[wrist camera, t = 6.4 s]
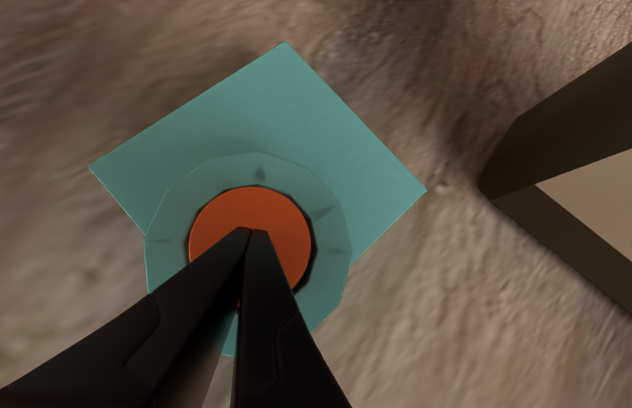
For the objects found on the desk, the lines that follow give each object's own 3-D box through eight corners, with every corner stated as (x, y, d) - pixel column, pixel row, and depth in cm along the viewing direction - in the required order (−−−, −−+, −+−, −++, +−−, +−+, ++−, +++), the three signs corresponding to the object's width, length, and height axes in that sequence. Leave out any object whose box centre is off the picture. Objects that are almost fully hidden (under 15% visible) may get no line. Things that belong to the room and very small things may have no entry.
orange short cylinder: (248, 323, 11) (242, 335, 8) (184, 247, 11) (161, 238, 9) (321, 255, 12) (334, 248, 10) (260, 188, 12) (258, 164, 10)
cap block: (249, 358, 14) (237, 408, 9) (119, 202, 15) (30, 154, 10) (396, 214, 17) (460, 181, 12) (281, 91, 18) (288, 2, 12)
